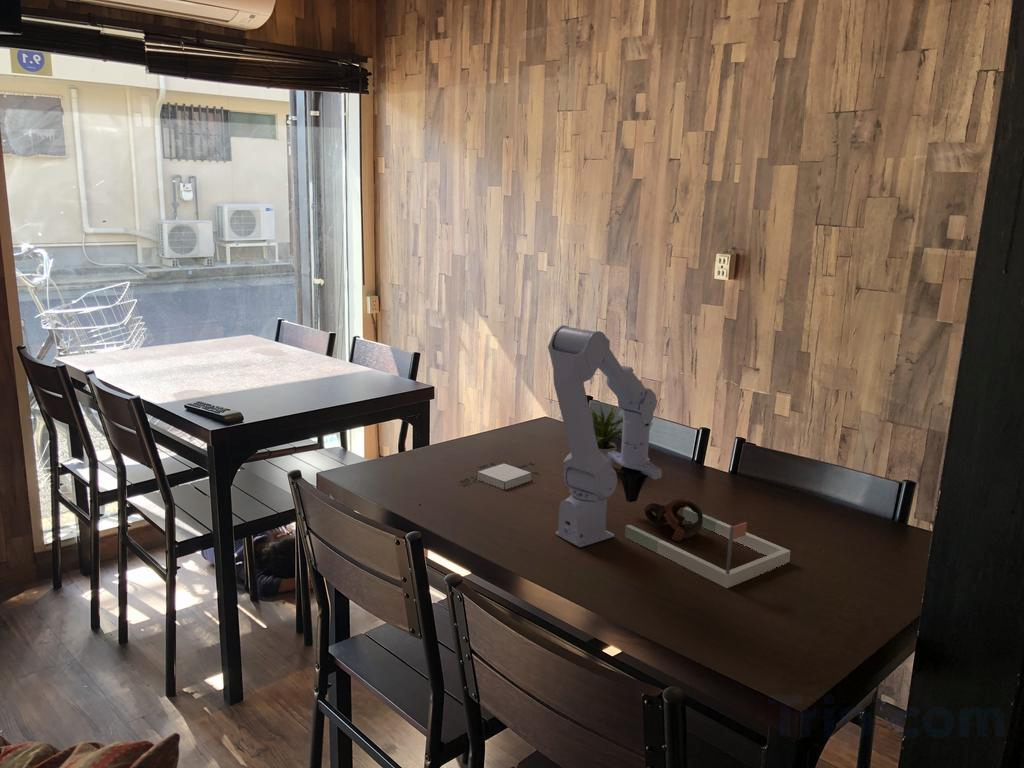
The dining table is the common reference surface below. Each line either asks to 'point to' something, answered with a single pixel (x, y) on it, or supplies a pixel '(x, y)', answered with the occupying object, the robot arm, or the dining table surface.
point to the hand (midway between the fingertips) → (631, 500)
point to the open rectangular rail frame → (737, 534)
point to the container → (503, 475)
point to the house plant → (606, 431)
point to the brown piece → (675, 517)
